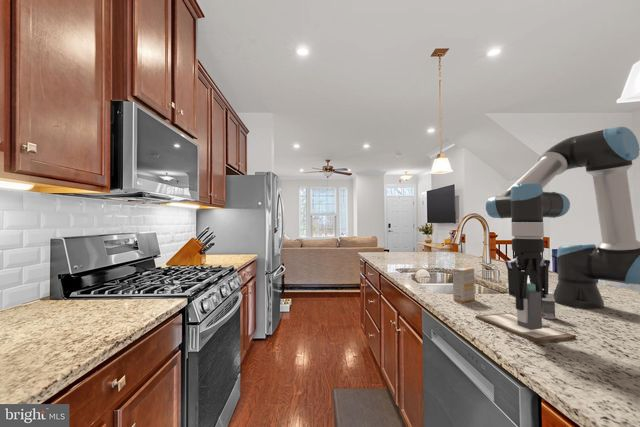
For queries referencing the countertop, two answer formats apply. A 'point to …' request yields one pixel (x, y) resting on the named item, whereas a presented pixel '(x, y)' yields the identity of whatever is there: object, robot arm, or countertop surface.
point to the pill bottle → (548, 306)
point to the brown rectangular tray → (536, 335)
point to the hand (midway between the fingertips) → (529, 320)
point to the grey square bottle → (533, 308)
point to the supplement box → (463, 284)
